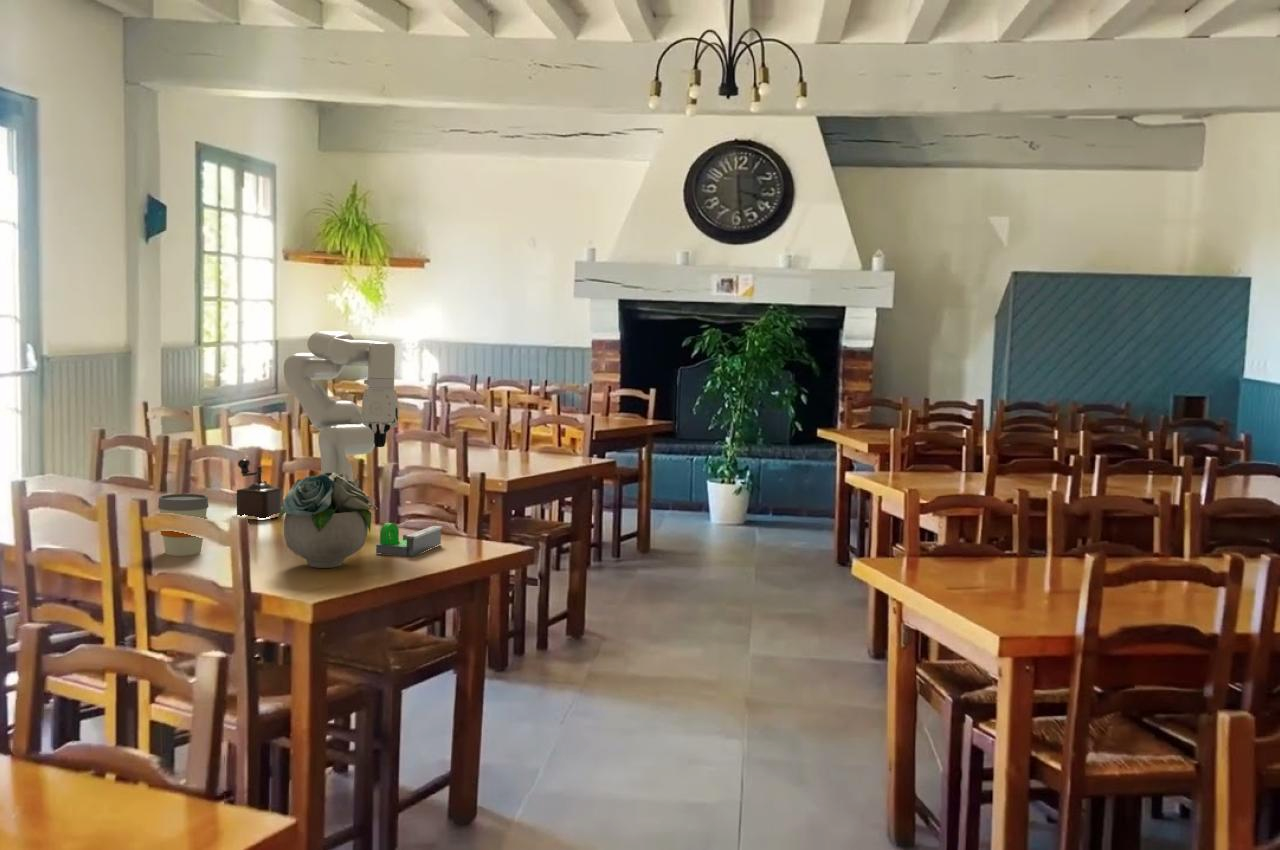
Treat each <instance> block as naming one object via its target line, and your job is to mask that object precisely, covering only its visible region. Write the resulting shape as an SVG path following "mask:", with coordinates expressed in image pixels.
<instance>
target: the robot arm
mask: <svg viewBox="0 0 1280 850" xmlns="http://www.w3.org/2000/svg"><path fill="white" fill-rule="evenodd" d="M306 343H307V344H306V345H307V348H308V349H307V350H308V351H309V352H299V353H294V354H291V355H289V356H288V357H287V358H286V359H285V360H284V363H283V377H284V381H285V384H286V386H287V387H288V389H289V391H290V392H291V393H292V395H293V396H294V397H295V399H296V400H297V401H298V402H299V403H300V405H301V407H302V409H303V410H304V412H305V414H306V415H307V417H308V419H309V421H310V422H311V424H312V426H313V427H314V428H315V429H316V430H318V431H319V434H318V437H317V439H318V447H319V448H318V449H319V454H320V468H321V469H320V472H321V473H320V475H321V474H325V473H336V474H343V477H344V476H345V474H347V475H348V477H349V480H350V481H352V482H354V469H353V466H352V464H351V463H350V461H349V459H348V457H347V456H353V455H366V454H369V453H371V452H372V451H373V450H374V448H375V447H376V448H382V447H383V448H384V447H385V445H386V442H387V433H388V432H389V431H390V429H395V428H397V427H399V425H398V421H399V415H400V414H399V412H400V411H399V399H398V398H399V397H398V393H397V389H396V388H395V367H396V365H395V364H396V363H395V362H396V359H395V358H396V356H395V355H396V345H394V343H392V342H386V341H385V342H384V341H379V340H378V341H377V340H366V339H365V340H362V339H361V340H360V339H354V337H353V336H352V334H350V333H349V332H346V331H334V330H333V331H332V330H331V331H330V330H320V331H316V332H314V333H312V334H311V335H309V337H308V340H307V342H306ZM346 366H350V367H353V366H355V367H357V366H359V367H368V368H367V369H368V370H367V379H364V380H363V383H364V385H366V386H367V387H366V388H364V392H363V397H362V402H361V408H360V407H359V405H358V404H357V403H355V402H353V401H352V400H333V399H331V398H330V397H329V395H328V394H327V393H328V392H326V390H325V389H324V388H323V387H322V386H321V385H320V384H319V383H317V382H315V381H314V380H317V381H318V380H319V381H321V380H323V381H324V380H326V381H327V380H334V379H336V378H338V376H340V374H341V373H342V371H343V370H344V369H345V367H346Z"/></svg>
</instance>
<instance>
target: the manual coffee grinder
mask: <svg viewBox="0 0 1280 850" xmlns="http://www.w3.org/2000/svg"><path fill="white" fill-rule="evenodd" d="M250 464H251V462H250V460H248V459H246V458H242V459H239V460H238V461H237V466H238V468H239V469H240V470H241V471H240V474H241V476H242V477H249V476H256V475H257V482H254V483H252V484H251V485H248V486H247V487H245V488H244V487H243V488H239V489H237V490H236V516H237V515H240V516H242V515H244V514H245V515H248V516H255V517H259V518H266V517H269V516H271V515H273V514H277V513H280V511H281V509H282V504H283V488H282V487H275V486H274V485H270V484H269V483H267V480H265V481H262V473H263V471H262V466H260V465H258V466H257V467H256V468H257V471H255V472H251V471H250V470H249V467H250V466H251V465H250Z"/></svg>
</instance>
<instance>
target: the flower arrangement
mask: <svg viewBox="0 0 1280 850" xmlns="http://www.w3.org/2000/svg"><path fill="white" fill-rule="evenodd" d="M359 486H360V480H359V479H358V478H355V479H354V480H353V482H352V481H350V480H349V477H348V475H347V474H345V476H344V477H343V474H336V473H325V474H321V473H320V474H318V475H312V476H307V477H304V478H301V479H299V478H298V479H297V480H296V481H295V482H294V483H292V485H291V488H290V490H289V491H288V492H287V493H286V494H285V497H284V499H283V500H282V509H281V511H280V514H279V516H278V518H276V520H277V521H278V520H279V519H280V518H281V517H283V516H284V520H283V536H284V539H285V542H286V546H287V548H288V549H289V550H290V551H292V552H293V553H294V554H295V555H296V556H299V557H301V558H303V559H305V560H306V562H307V565H308V566H309V567H311V568H316V569H317V568H318V569H332V568H337V567H338V568H339V567H341V566H342V565H343V564H344V561H345V559H347V558H348V557H350V556H352V555H354V554H356V553H357V552H358V551H359V550H360V549H361V548H362V547H364V545H365V542H366V539H367V537H368V533H371V527H372V525H371V524H372V512H370V510H372V511H373V512H375V510H379V508H378V507H377V506H376V505H375V504H373V500H372V498H370V497H369V496H368V495H367V494H366V493H365V492H364V491H362V489H361V488H360V487H359ZM368 531H369V532H368Z"/></svg>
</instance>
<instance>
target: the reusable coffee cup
mask: <svg viewBox="0 0 1280 850" xmlns="http://www.w3.org/2000/svg"><path fill="white" fill-rule="evenodd" d="M157 508H158V509H159V514H160V513H174V514H181V515H187V516H195V517H200V518H204V519H207V520H208V517H207V512H208V511H207V510H208V508H209V499H208V495H206V494H198V493H172V494H164V495H160V496H159V497H158V505H157ZM160 535H161V537H162V538H163V539H162V540H163V546H164V554H165V555H168V556H174V557H175V556H177V557H178V556H179V557H181V556H182V557H183V556H193V555H198V554H201V553H202V546H203V538H204V537H203V538H199V537H196V536H191V535H188V534H184V533H179V532H174V531H161V530H160Z"/></svg>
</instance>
